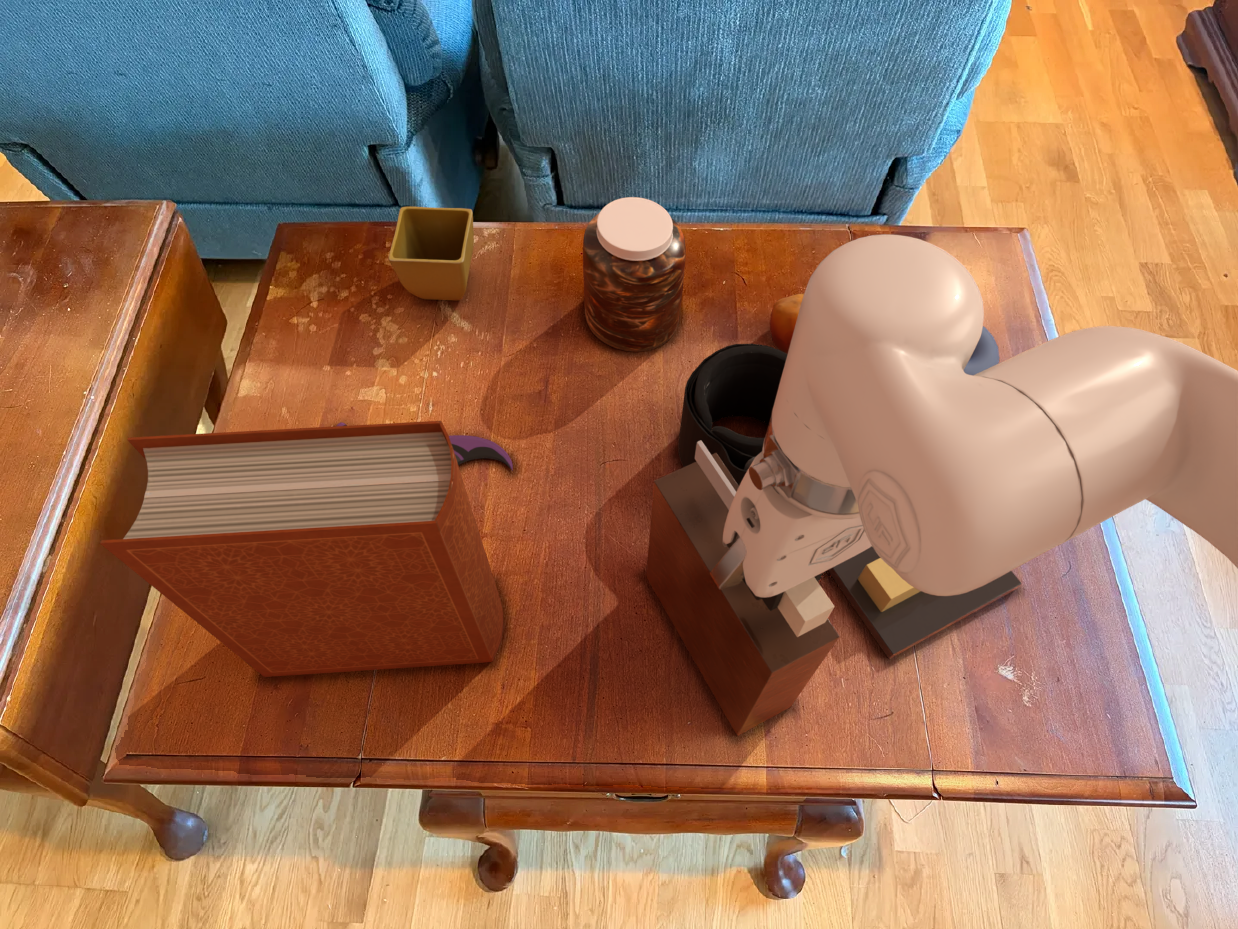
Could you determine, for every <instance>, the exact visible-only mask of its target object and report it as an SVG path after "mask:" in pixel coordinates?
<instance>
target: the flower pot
mask: <svg viewBox="0 0 1238 929" xmlns="http://www.w3.org/2000/svg"><path fill="white" fill-rule="evenodd" d="M474 244H475V232H474V213H473V210H472V209H471V208H463V207H429V206H426V207H425V206H401V207H400V209H399V211H398V216H397V222H396V227H395V232H394V236H393V239H392V242H391V246H390V250H389V253H388V261H389V263H390V265H391V267H392V268H393V271H394V272H395V275H396V277H397V278H398V280H399V282H400V284H401V285H402V287H403V288H404V289H405V290H406V291H407V292H408V293H410V294H411V295H413V296H415V297H417V298H419V299H422V300H433V301H435V300H436V301H437V300H438V301H461V300H462V299H463V298H464V296H465V294H466V291H467V286H468V281H469V274H470V268H471V263H472V258H473V254H474V253H473V252H474V246H475V245H474Z"/></svg>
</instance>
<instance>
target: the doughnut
mask: <svg viewBox="0 0 1238 929" xmlns="http://www.w3.org/2000/svg"><path fill="white" fill-rule="evenodd" d="M996 341H997V340H996V339H995V337H994V336H993V334H992V333H991V332H990V331H989V330H988V328H987V327H985V326H984V325H983V328H982V333H981V337H980V339H979V341H978V343H977V345H976V348H975V350H974V352H973V354H972V356H971V358H970V359H969V361H968V363H967V365H966V367H965V368H964V370H963V371H964V372H965V373H966V374H968V375H975V374H977V373H980V372H982V371H984V370H986V369H988V368H990V367H992V366H995V365H997V364H999V363H1000V351H999V345H998V344H997V342H996Z"/></svg>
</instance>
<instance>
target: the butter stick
mask: <svg viewBox="0 0 1238 929" xmlns="http://www.w3.org/2000/svg"><path fill="white" fill-rule="evenodd" d="M858 580H859V582H860V583H861V585H862V586H863V587H864V589H865V590H866V592H867V593H868V594H869V596H870V597H871V599H872V600H873V602H874V603H875V604H876V606H877V607H878V609H879V610H880V611H881V612H883V611H885V610H887V609H888V608H890V607H892V606H894V605H896V604H898V603H900V602H902V601H903V600H905V599H907V598H909V597H911V596H913V595H915V594H917V593H918V592H920V591H919V590H918V589H916V588H914V587H913V586H911V585H910V584H908V583H907V582H906V581H904V580H903V579H902V578H901V577H900V576H899V575H898V574H897V573H896V572H895V571H894V569H892V568H891V567H890V566H889V565H887V564H886V563H885V562H884V561H883V560H882V559H881V558H879V559H877V560H875V561H873V562H871V563H869V564H867V565H866V567H865V568H864V570H863V571H862V573H861V574H860V576H859V577H858Z"/></svg>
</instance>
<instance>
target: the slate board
mask: <svg viewBox="0 0 1238 929" xmlns="http://www.w3.org/2000/svg"><path fill="white" fill-rule="evenodd" d="M879 558H880V557H879V555H878V554H877V553H876V551H875V550H874V548H873V547H872V546H871V547H870V548H868V549H866V550H865V551H863V552H861V553H859V554H857V555H855V556H854V557H852V558H850V559H848V560H846V561H844V562H842V563H840V564H838V565H836V566H834V567H832V568H830V569H828V570H827V572H828V573H829V575H830V576H831V578H832V579H833V581H834V582H835V584H836V585H837V586H838V588H839V589H840V592H842V594H843V595H844V597H845V598H846V599H847V601H848V602H849V604H850V605H851V607H852V608H853V609H854V611H855V612H856V613H857V615H858V617H859V618H860V620H861V621H862V622H863V624H864V626H865V627H866V629H867V630H868V632H870V634H871V635H872V637H873V639H875V641H876V642H877V645H879V648H881V650H882V652H883V653H884V654H885V656H886V657H887V658H888V659H889V660H891V659H892V658H894V657H895V656H898V655H900V654H901V653H904V651H907V650H909V649H910V648H912V647H914V646H916V645H918V644H919V643H921V642H923V641H925V640H926V639H928V638H930V637H932V636H934V635H936V634H938V633H940V632H941V631H943V630H945V629H947V628H948V627H950V626H952V625H954V624H956V623H957V622H959V621H961V620H963V619H965V618H966V617H968V616H970V615H972V614H974V613H976V612H978V611H980V610H981V609H983V608H985V607H986V606H988V605H990V604H992V603H994V602H996V601H998V600H1000V599H1001V598H1003V597H1005V596H1007V595H1008V594H1010V593H1012V592H1014V591H1016V590H1017V589H1018V588H1020V587H1021V585H1022V582H1021V581H1020V579H1019V578H1018V577H1017V576H1016V574H1015V573H1014V572H1013V570H1012V571H1010V572H1008V573H1006V574H1004V575H1003V576H1001V577H999V578H997V579H995V580H993V581H991V582H989V583H987V584H986V585H984V586H982V587H979V588H977V589H974V590H972V591H969V592H967V593H963V594H959V595H952V596H936V595H931V594H928V593H925V592H922V591H920V592H918V593H917V594H915V595H913V596H911V597H909V598H907V599H905V600H903V601H902V602H900V603H898V604H896V605H894V606H892V607H890V608H888V609H887V610H885V611H883V612H881V611H880V610H879V609H878V607H877V606H876V604H875V603H874V602H873V600H872V599H871V597H870V596H869V594H868V593H867V592H866V590H865V589H864V587H863V586H862V585H861V583H860V582H859V580H858V577H859V576H860V574H861V573H862V571H863V570H864V568H865V567H866V565H867V564H869V563H871V562H873V561H875V560H877V559H879Z"/></svg>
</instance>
